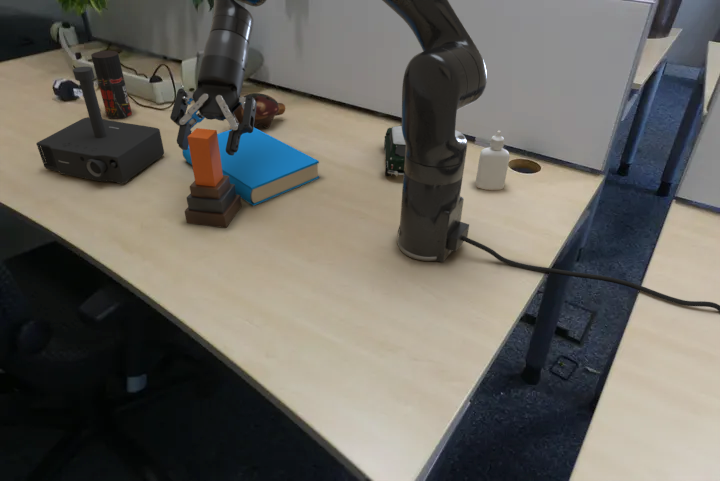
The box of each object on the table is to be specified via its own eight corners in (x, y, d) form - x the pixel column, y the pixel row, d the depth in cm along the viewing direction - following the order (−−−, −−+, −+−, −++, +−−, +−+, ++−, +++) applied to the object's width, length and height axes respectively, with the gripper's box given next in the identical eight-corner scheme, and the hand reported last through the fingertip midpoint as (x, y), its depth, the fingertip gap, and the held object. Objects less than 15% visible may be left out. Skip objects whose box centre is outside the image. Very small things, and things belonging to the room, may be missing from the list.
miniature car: (422, 145, 126) (425, 112, 122) (429, 183, 112) (433, 147, 107) (383, 144, 126) (385, 111, 122) (385, 182, 112) (387, 146, 107)
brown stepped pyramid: (241, 206, 103) (237, 173, 99) (226, 227, 97) (221, 193, 93) (204, 201, 104) (198, 168, 100) (186, 222, 98) (180, 188, 94)
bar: (223, 177, 98) (216, 130, 92) (215, 186, 95) (207, 138, 89) (204, 175, 98) (196, 128, 93) (195, 184, 95) (187, 136, 90)
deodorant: (107, 111, 139) (92, 51, 131) (132, 109, 141) (118, 49, 132) (106, 120, 135) (90, 58, 126) (131, 117, 136) (117, 56, 128)
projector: (37, 175, 111) (2, 78, 100) (93, 142, 124) (68, 53, 113) (117, 190, 107) (91, 91, 95) (167, 155, 120) (148, 63, 108)
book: (247, 123, 125) (319, 158, 110) (249, 141, 127) (320, 177, 113) (179, 145, 115) (249, 187, 100) (183, 164, 117) (252, 207, 103)
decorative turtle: (219, 126, 133) (215, 94, 129) (272, 116, 141) (271, 85, 137) (239, 138, 126) (236, 104, 122) (293, 126, 135) (292, 94, 131)
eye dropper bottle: (481, 178, 114) (490, 124, 107) (506, 186, 111) (517, 131, 104) (472, 186, 111) (480, 131, 104) (498, 194, 108) (508, 138, 101)
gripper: (177, 49, 94) (156, 139, 91) (256, 56, 91) (238, 147, 89) (195, 71, 101) (177, 154, 98) (269, 77, 99) (252, 162, 96)
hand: (206, 151), depth 93 cm, fingers open, 8 cm apart
